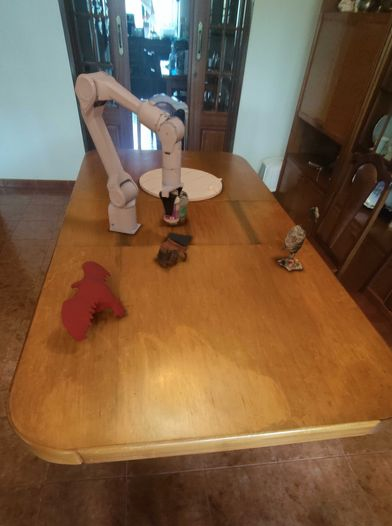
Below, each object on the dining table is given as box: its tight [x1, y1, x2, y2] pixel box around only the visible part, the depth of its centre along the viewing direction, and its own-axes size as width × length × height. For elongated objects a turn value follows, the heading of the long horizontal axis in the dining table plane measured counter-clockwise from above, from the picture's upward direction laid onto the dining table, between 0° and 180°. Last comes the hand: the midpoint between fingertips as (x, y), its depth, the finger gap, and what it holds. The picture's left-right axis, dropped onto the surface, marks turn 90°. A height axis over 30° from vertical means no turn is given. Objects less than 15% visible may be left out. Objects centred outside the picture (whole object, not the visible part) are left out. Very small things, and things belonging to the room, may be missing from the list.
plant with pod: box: [276, 206, 320, 272], centre depth 101 cm, size 8×11×20 cm
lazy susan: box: [138, 167, 223, 202], centre depth 150 cm, size 40×39×3 cm
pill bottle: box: [163, 189, 180, 224], centre depth 105 cm, size 5×5×10 cm
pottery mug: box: [156, 237, 188, 268], centre depth 102 cm, size 12×10×8 cm
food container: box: [168, 190, 190, 227], centre depth 121 cm, size 12×6×10 cm, turn 168°
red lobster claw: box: [60, 260, 126, 343], centre depth 81 cm, size 28×9×15 cm
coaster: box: [164, 232, 192, 247], centre depth 114 cm, size 8×8×1 cm
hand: (171, 211), depth 106 cm, fingers closed on pill bottle, 5 cm apart
